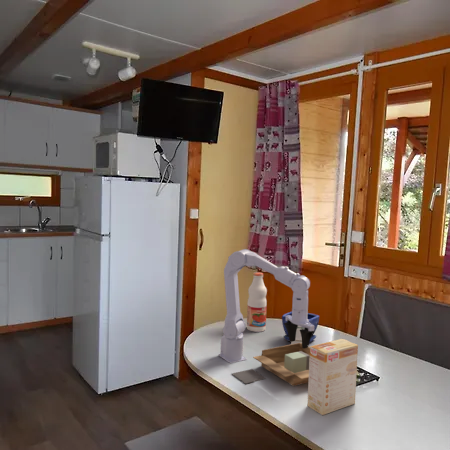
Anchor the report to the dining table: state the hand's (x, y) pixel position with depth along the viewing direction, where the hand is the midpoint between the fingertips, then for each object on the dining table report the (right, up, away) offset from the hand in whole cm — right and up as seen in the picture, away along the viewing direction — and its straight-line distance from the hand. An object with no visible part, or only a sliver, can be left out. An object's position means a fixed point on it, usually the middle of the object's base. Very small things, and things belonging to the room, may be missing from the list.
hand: (298, 344), depth 158 cm
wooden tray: (-1, -10, -2) cm, 11 cm away
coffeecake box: (+6, -13, -24) cm, 28 cm away
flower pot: (+7, -8, +35) cm, 37 cm away
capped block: (-1, -10, +1) cm, 10 cm away
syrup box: (+4, -9, +23) cm, 25 cm away
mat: (-19, -10, -6) cm, 22 cm away
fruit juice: (-12, -7, +49) cm, 51 cm away
